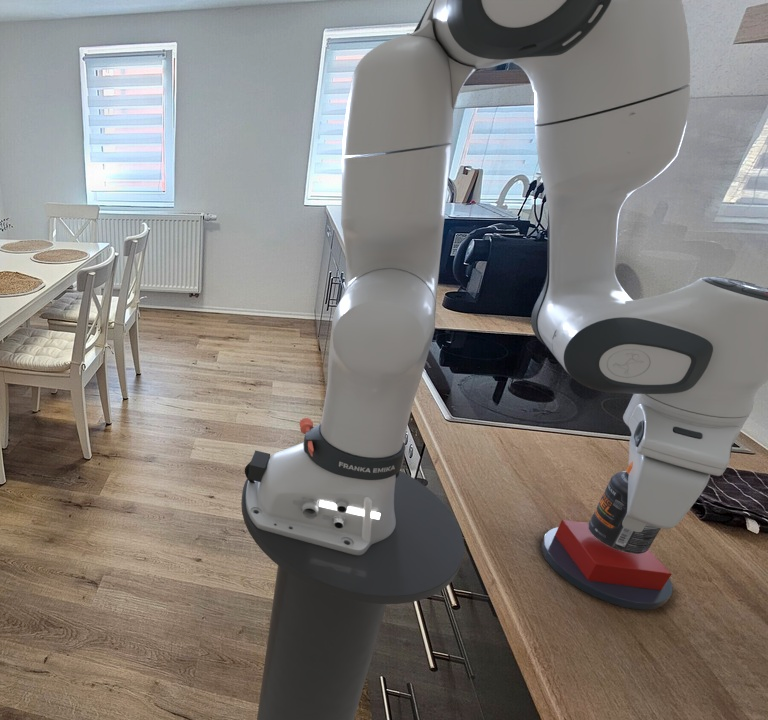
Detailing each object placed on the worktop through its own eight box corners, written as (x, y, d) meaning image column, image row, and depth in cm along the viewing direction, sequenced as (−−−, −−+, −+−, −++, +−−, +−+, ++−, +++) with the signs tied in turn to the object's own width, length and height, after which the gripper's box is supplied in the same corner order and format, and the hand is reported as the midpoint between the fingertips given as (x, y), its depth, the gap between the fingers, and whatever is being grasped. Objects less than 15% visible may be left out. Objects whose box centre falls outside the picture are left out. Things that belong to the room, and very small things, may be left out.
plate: (572, 600, 63) (576, 593, 63) (523, 526, 74) (526, 520, 74) (697, 618, 60) (701, 611, 60) (626, 538, 72) (629, 532, 71)
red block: (587, 580, 64) (596, 564, 63) (554, 535, 71) (561, 519, 70) (661, 590, 62) (672, 573, 61) (620, 543, 69) (629, 527, 68)
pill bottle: (581, 516, 69) (613, 449, 64) (637, 529, 66) (674, 460, 61) (595, 546, 64) (631, 477, 59) (656, 561, 61) (698, 490, 57)
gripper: (641, 378, 66) (602, 462, 72) (642, 448, 52) (593, 544, 58) (711, 393, 62) (663, 480, 68) (731, 472, 49) (669, 573, 54)
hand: (631, 511), depth 63 cm, fingers closed on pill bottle, 6 cm apart
